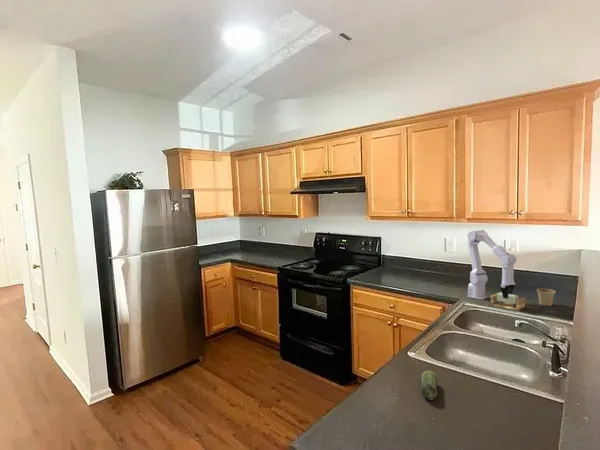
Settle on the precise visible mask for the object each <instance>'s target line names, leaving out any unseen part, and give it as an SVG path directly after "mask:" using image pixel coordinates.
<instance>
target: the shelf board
mask: <svg viewBox="0 0 600 450" xmlns="http://www.w3.org/2000/svg"><path fill="white" fill-rule="evenodd" d="M497 293H498V294H497V301H502V302H507V303H512V304H516V301H517V300H519V299H520V297H519V295H518V294H513V293H512V294H508V298H507V299H506V298H503V295H502V291H500V292H497Z"/></svg>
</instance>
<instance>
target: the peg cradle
mask: <svg viewBox="0 0 600 450" xmlns="http://www.w3.org/2000/svg"><path fill="white" fill-rule="evenodd" d="M498 293H499V292H496V293H494V294H492V295H490V306H493V305H494V306H493V307H498V308H499V307H500V308H503V309H509V310H512V311H517V312H519V311H521V310H522V309H523V308H524V309H525V307H526V297H521V298H519V299H518V300H517V301H516V304H512V303H507V302H502V301H497V294H498Z"/></svg>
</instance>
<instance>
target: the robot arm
mask: <svg viewBox="0 0 600 450" xmlns="http://www.w3.org/2000/svg"><path fill="white" fill-rule="evenodd" d="M481 242H483V243H485V244H486V245H487V246H488V247H490V248H491V249H492V252H493V254H495V256H497V258H498V259H499V262H500V263H501V267H502V271H501V273H502V274H501V284H500V286H499V287H498V288H499V289H500V290H501V291H500V292H501V293H502V295H503V298H506V299H507V298H508V294H512V295H513V292H514V289H515V287H516V284H517V283H515V280H514V276H515V275H514V269H515V268H514V267H515V263H516V262H517V257H516V256H515V255H514V254H510V252H509V251H507V250H506V249H505V248H504V246H501V245H498V244H497V243H496V242H495V241H494V240H493V239H492V238H491V237H490V236H489V233H488V232H486V231H485V230H484V229H477V230H470V231H469V232H468V233H467V246H468V247H467V248H468V250H469V256H470V261H471V268H472V270H471V271H470V272H469V276H470V277H469V280H470V281H469V283H468V287H467V297H468V298H471V299H477V300H485V299H486V298H487V299H488V296H486V283H487V282H488V281H489V278H488V276H487V272H486V270H484V269H483V267H482V261H481V256H480V252H479V246H478V245H479V243H481Z"/></svg>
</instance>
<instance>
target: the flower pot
mask: <svg viewBox="0 0 600 450" xmlns="http://www.w3.org/2000/svg"><path fill="white" fill-rule="evenodd" d="M536 292H537V295H538V303H539V305H541V306H549V307H550V306H553V302H554V297H555V295H556V292H557V291H556V290H555V289H554V290H553V289H550V288H537V289H536Z"/></svg>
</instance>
